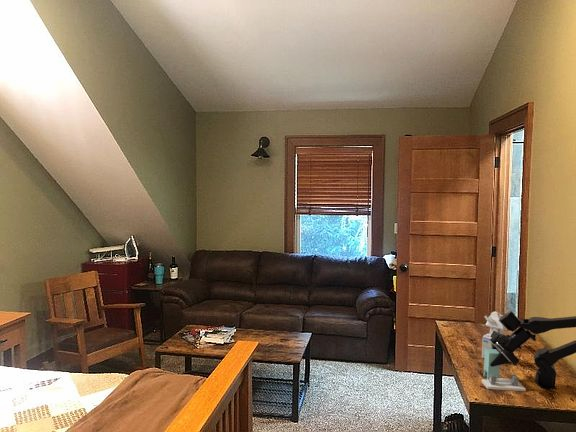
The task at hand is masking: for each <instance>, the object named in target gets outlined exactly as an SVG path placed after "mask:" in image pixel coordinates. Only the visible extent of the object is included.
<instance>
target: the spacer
mask: <svg viewBox="0 0 576 432" xmlns="http://www.w3.org/2000/svg"><path fill="white" fill-rule="evenodd" d="M498 355H499V352H498V351H497V350H496V349H485V358H484V360H483V362H484V363H483V377H484V378H485V377H486V380H489V374H494V375H495V376H496V378H500V369H501V368H500V366H501V365H498V366H493V367H491V365H490V364H491V363H492V362H493V361H494V360H495V359H496V358H497V356H498Z"/></svg>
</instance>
